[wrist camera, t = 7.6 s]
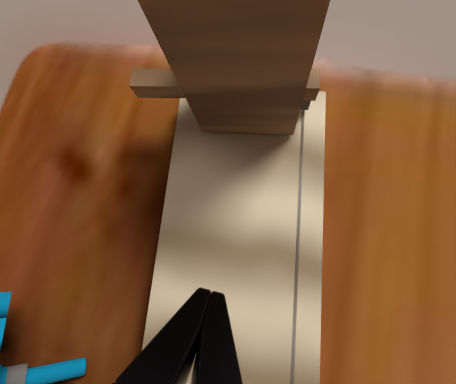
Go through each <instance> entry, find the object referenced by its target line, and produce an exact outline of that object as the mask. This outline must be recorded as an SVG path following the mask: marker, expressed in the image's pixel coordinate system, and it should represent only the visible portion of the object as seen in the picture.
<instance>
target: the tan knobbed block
mask: <svg viewBox="0 0 456 384" xmlns="http://www.w3.org/2000/svg"><path fill="white" fill-rule="evenodd" d="M138 2H139V4H140V6H141V8H142V10H143V12H144V14H145V16H146V18H147V20H148V22H149V24H150V26H151V28H152V30H153V32H154V34H155V36H156V38H157V40H158V43H159V45H160V47H161V49H162V51H163V53H164V55H165V57H166V59H167V61H168V63H169V65H170V67H171V69H137V68H133V69H132V74H131V79H130V84H129V86H130V88H131V89H132V90H133V91H134V93H135V94H136V95H137V96H138V97H141V98H186V100H187V102H188V104H189V106H190V108H191V110H192V112H193V114H194V116H195V118H196V120H197V122H198V124H199V126H200V128H201V130H202V132H226V133H253V134H280V135H293V134H294V131H295V127H296V123H297V120H298V116H299V112H300V110H308V109H309V106H310V103H311V101H315V100H316V98H317V95H318V92H319V89H320V69H311V68H312V65H313V61H314V57H315V54H316V50H317V46H318V42H319V39H320V35H321V32H322V28H323V24H324V20H325V17H326V13H327V10H328V6H329V2H330V0H138Z"/></svg>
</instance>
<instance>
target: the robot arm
mask: <svg viewBox="0 0 456 384" xmlns="http://www.w3.org/2000/svg"><path fill="white" fill-rule="evenodd" d="M194 359H195V361H194ZM193 363H194V366H193ZM192 366H193V372H192V378H191V384H243V382H242V377H241V372H240V367H239V362H238V358H237V353H236V348H235V343H234V338H233V333H232V328H231V323H230V318H229V313H228V308H227V303H226V299H225V295H224V294H223V293H220V292H217V291H212V292H211V291H210V290H209V289H205V288H201V287H200V288H198V289H197V290H196V291H195V292H194V293H193V294H192V295H191V297H190V298H189V299H188V300H187V301H186V302H185V303H184V304H183V305H182V307H181V308H180V309H179V310H178V311H177V312H176V313H175V314H174V315H173V317H172V318H171V319H170V320H169V321H168V322H167V323H166V324H165V326H164V327H163V328H162V329H161V330H160V331H159V332H158V333H157V334H156V336H155V337H154V338H153V339H152V340H151V341H150V342H149V343H148V344H147V346H146V347H145V348H144V349H143V350H142V351H141V352H140V353H139V355H138V356H137V357H136V358H135V359H134V360H133V361H132V362H131V363H130V365H129V366H128V367H127V368H126V369H125V370H124V371H123V372H122V374H121V375H120V376H119V377H118V378H117V379H116V383H112V384H186V382H187V380H188V377H189V374H190V371H191V369H192Z"/></svg>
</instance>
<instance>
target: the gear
mask: <svg viewBox="0 0 456 384" xmlns="http://www.w3.org/2000/svg"><path fill="white" fill-rule="evenodd" d="M10 297H11V292H0V349H1V344H2V339H3V334H4V329H5V323H6V318H7V313H8V308H9V302H10ZM85 369H86V359H85V357H84V358H79V359H74V360H68V361H63V362H58V363H53V364H48V365H43V366H38V367H33V368H28V369H27V363H24V364H19V365H13V366H8V367H3V368H2V364H0V384H50V383H54V382H59V381H63V380H67V379H71V378H75V377H80V376H84V374H85Z"/></svg>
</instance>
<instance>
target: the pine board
mask: <svg viewBox="0 0 456 384" xmlns="http://www.w3.org/2000/svg"><path fill="white" fill-rule="evenodd" d="M325 101H326V92H318V95H317V98H316V100H315V101H311V103H310V106H309V109H308V110H300V112H299V116H298V120H297V123H296V127H295V131H294V134H293V135H280V134H253V133H226V132H202V130H201V128H200V126H199V124H198V122H197V120H196V118H195V116H194V114H193V112H192V110H191V108H190V106H189V104H188V102H187V100H186V98H180V103H179V109H178V116H177V122H176V129H175V135H174V142H173V149H172V155H171V162H170V168H169V175H168V181H167V188H166V195H165V201H164V208H163V214H162V221H161V228H160V234H159V241H158V247H157V254H156V260H155V267H154V274H153V280H152V287H151V293H150V300H149V307H148V313H147V320H146V326H145V333H144V339H143V346H142V350H143V349H144V348H145V347H146V346H147V344H148V343H149V342H150V341H151V340H152V339H153V338H154V337H155V336H156V334H157V333H158V332H159V331H160V330H161V329H162V328H163V327H164V326H165V324H166V323H167V322H168V321H169V320H170V319H171V318H172V317H173V315H174V314H175V313H176V312H177V311H178V310H179V309H180V308H181V307H182V305H183V304H184V303H185V302H186V301H187V300H188V299H189V298H190V297H191V295H192V294H193V293H194V292H195V291H196V290H197V289H198V288H200V287H201V288H205V289H209V290H210V291H211V292H212V291H217V292H220V293H223V294H224V295H225V299H226V303H227V308H228V313H229V318H230V323H231V328H232V333H233V338H234V343H235V348H236V353H237V358H238V362H239V367H240V372H241V377H242V382H243V384H320V336H321V289H322V242H323V195H324V148H325ZM194 361H195V359H194ZM193 366H194V363H193ZM193 366H192V369H191V371H190V374H189V377H188V380H187V382H186V384H191V378H192V372H193Z"/></svg>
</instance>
